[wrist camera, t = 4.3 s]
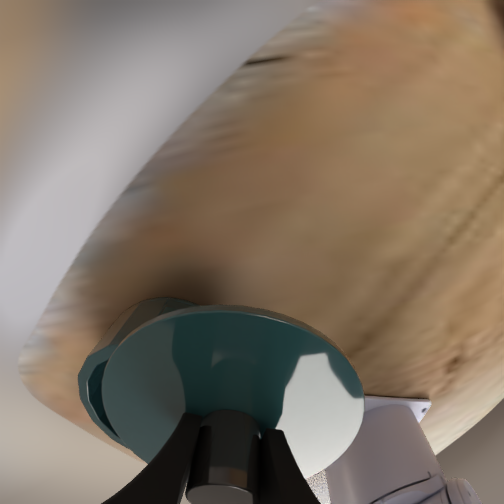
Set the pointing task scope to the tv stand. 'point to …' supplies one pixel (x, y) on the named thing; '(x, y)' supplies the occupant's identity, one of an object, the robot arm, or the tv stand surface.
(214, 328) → the lid
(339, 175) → the tv stand surface
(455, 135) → the tv stand surface
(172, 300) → the pot
